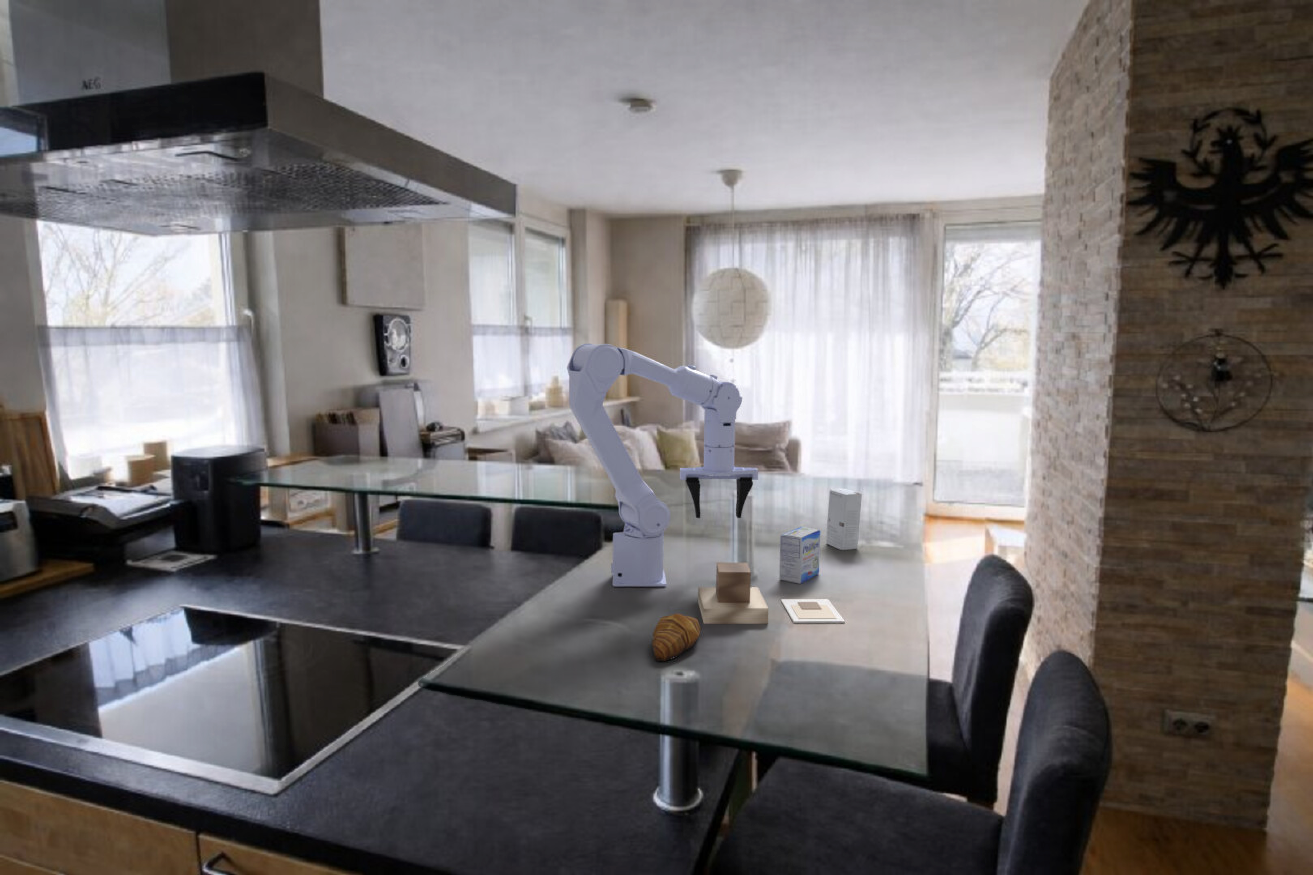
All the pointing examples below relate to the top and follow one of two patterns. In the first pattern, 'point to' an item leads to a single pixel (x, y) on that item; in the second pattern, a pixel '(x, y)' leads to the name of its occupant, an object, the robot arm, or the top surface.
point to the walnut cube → (733, 582)
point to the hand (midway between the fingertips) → (718, 516)
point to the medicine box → (799, 555)
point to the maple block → (732, 608)
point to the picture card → (812, 611)
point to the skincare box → (843, 518)
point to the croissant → (674, 636)
